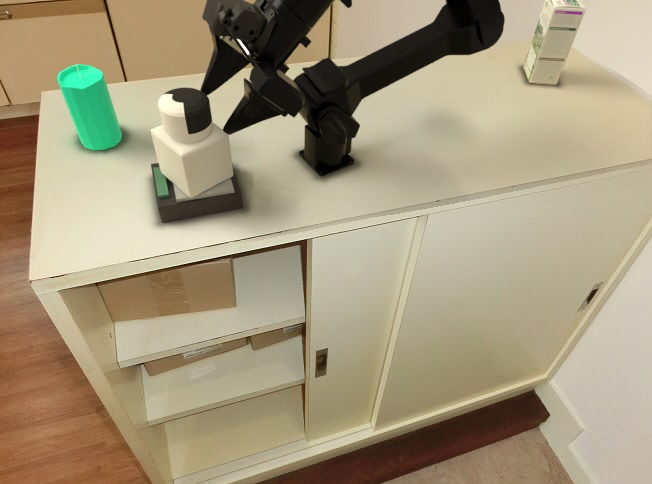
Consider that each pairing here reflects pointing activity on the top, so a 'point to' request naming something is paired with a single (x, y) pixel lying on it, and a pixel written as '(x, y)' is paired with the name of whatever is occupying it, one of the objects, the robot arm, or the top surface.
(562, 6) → the syrup box
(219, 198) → the scale
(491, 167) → the top surface
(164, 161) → the medicine bottle
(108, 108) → the candle
